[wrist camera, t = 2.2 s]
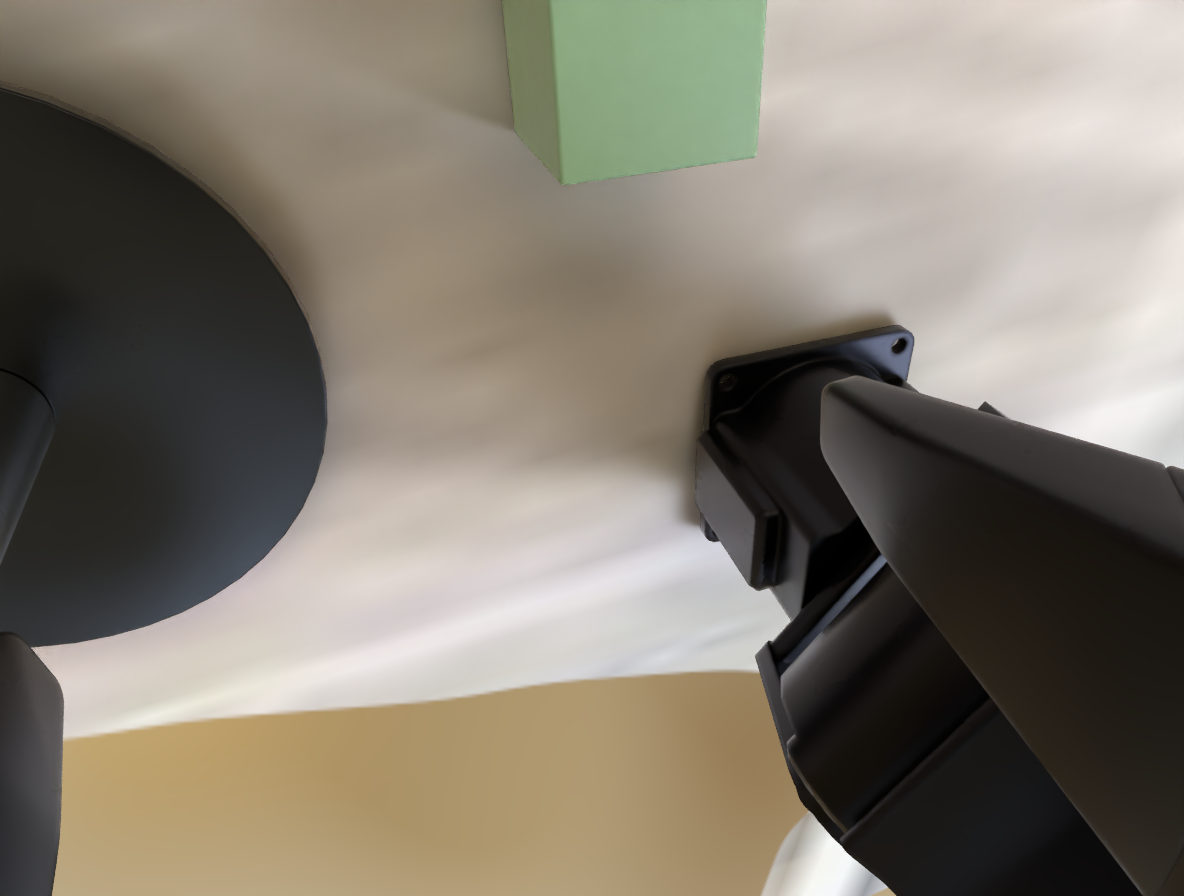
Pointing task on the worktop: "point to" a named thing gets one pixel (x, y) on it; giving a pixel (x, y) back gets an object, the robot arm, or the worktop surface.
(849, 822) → the robot arm
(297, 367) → the tin lid
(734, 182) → the worktop surface
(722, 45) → the block
